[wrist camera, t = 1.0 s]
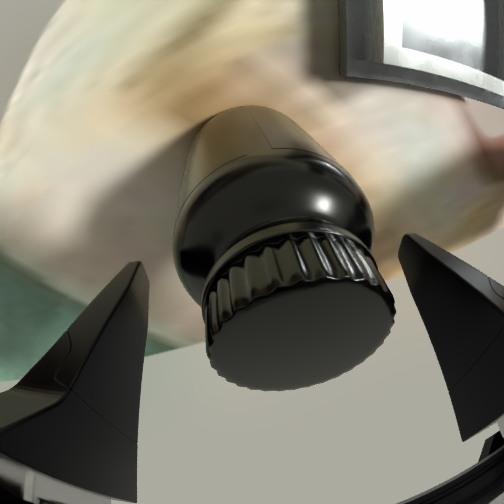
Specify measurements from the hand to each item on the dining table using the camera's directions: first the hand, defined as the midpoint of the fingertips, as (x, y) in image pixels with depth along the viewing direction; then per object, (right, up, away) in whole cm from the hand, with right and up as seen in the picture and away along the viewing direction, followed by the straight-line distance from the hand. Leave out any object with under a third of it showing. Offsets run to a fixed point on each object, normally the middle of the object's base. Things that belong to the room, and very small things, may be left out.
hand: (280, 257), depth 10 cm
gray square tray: (+10, +16, 0) cm, 19 cm away
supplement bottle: (-1, +5, +7) cm, 9 cm away
